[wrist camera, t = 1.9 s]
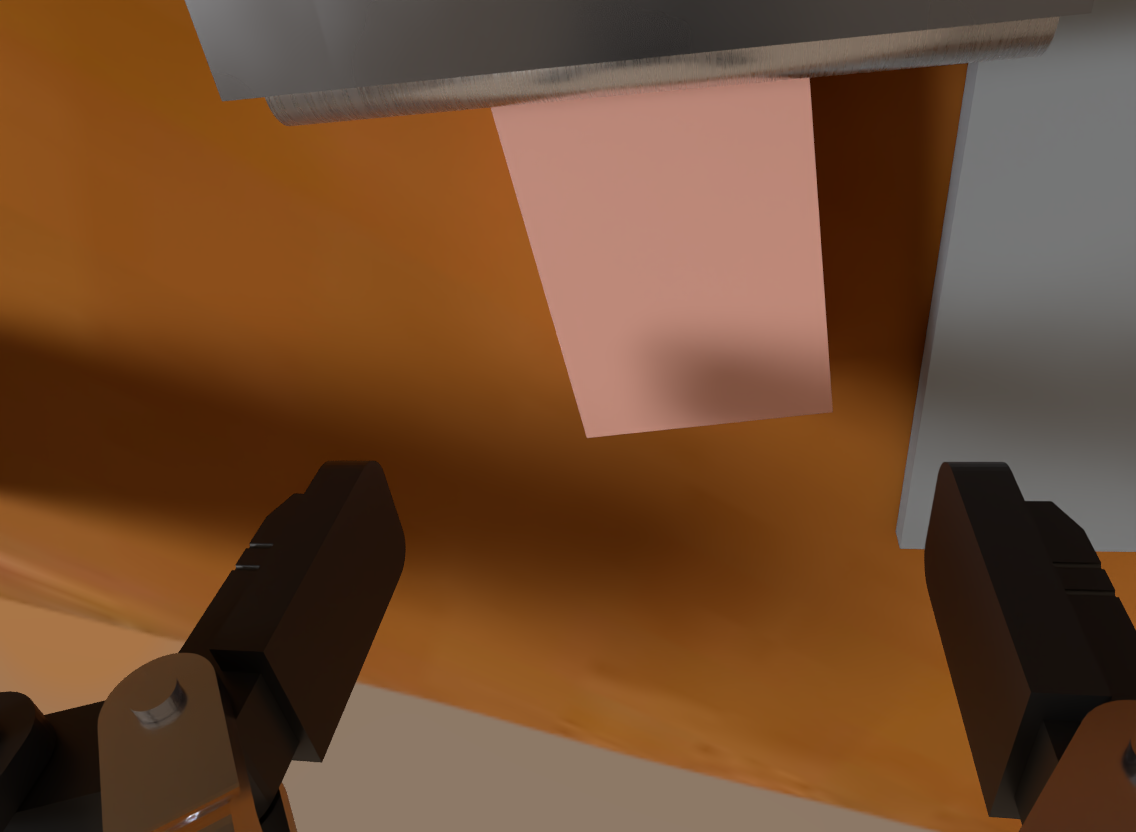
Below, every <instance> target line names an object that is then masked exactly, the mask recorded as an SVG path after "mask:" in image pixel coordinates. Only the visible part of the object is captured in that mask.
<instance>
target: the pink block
mask: <svg viewBox="0 0 1136 832" xmlns="http://www.w3.org/2000/svg"><path fill="white" fill-rule="evenodd" d="M491 110H492V113H493V117H494V120H495V124H496V127H497V131H498V134H499V137H500V141H501V144H502V148H503V151H504V155H505V158H506V161H507V165H508V168H509V172H510V175H511V179H512V182H513V186H514V189H515V192H516V196H517V199H518V203H519V206H520V210H521V213H522V216H523V220H524V223H525V227H526V230H527V234H528V237H529V240H530V244H531V247H532V251H533V254H534V258H535V261H536V265H537V268H538V271H539V275H540V278H541V282H542V285H543V289H544V292H545V295H546V299H547V302H548V306H549V309H550V313H551V316H552V319H553V323H554V326H555V330H556V333H557V337H558V340H559V343H560V347H561V350H562V354H563V357H564V361H565V364H566V368H567V371H568V374H569V378H570V381H571V385H572V388H573V392H574V395H575V398H576V402H577V405H578V409H579V412H580V416H581V419H582V422H583V426H584V429H585V433H586V436H587V438H591V437H600V436H610V435H619V434H629V433H638V432H648V431H657V430H667V429H676V428H686V427H695V426H705V425H714V424H724V423H733V422H743V421H752V420H762V419H771V418H781V417H790V416H800V415H809V414H819V413H828V412H833V409H832V395H831V380H830V366H829V351H828V337H827V322H826V308H825V293H824V279H823V265H822V250H821V236H820V221H819V207H818V192H817V178H816V163H815V149H814V134H813V120H812V106H811V91H810V78H801V79H790V80H780V81H769V82H758V83H748V84H737V85H726V86H715V87H705V88H694V89H683V90H672V91H662V92H651V93H640V94H629V95H619V96H608V97H597V98H586V99H576V100H565V101H554V102H543V103H533V104H522V105H511V106H500V107H491Z"/></svg>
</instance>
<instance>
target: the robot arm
mask: <svg viewBox="0 0 1136 832" xmlns="http://www.w3.org/2000/svg"><path fill="white" fill-rule="evenodd" d="M404 561H405V537H404V533H403V529H402V526H401V523H400V520H399V517H398V514H397V511H396V508H395V505H394V502H393V499H392V496H391V493H390V490H389V487H388V484H387V481H386V478H385V475H384V472H383V469H382V467H381V466H380V464H379V463H378V462H376V461H327V462H325V463H324V464H323V465H322V466H321V468H320V469H319V471H318V472H317V474H316V475H315V477H314V479H313V480H312V482H311V484H310V485H309V487H308V488H307V490H306V492H305V493H304V494H293V495H292V496H291V497H289V498H288V499H287V500H286V501H285V502H284V503H282V504H281V505H280V506H279V507H278V508H276V509H275V510H274V511H273V512H272V513H271V514H269V515H268V516H267V517H266V519H265V520H264V522H263V523H262V525H261V526H260V528H259V529H258V531H257V532H256V534H255V536H254V537H253V539H252V540H251V542H250V548H246V549H245V551H244V552H243V554H242V556H241V557H240V559H239V560H238V562H237V563H236V569H235V570H232V571H231V573H230V574H229V576H228V577H227V579H226V580H225V582H224V583H223V585H222V586H221V588H220V590H219V591H218V593H217V594H216V596H215V597H214V599H213V600H212V602H211V603H210V605H209V607H208V608H207V610H206V611H205V613H204V614H203V616H202V617H201V619H200V620H199V622H198V623H197V625H196V627H195V628H194V630H193V631H192V633H191V634H190V636H189V637H188V639H187V640H186V642H185V644H184V645H183V647H182V648H181V650H180V651H179V652H178V653H176V654H170V655H166V656H162V657H160V658H157V659H155V660H152V661H150V662H149V663H147V664H144V665H143V666H141V667H139V668H138V669H136V670H135V671H133V672H132V673H131V674H129V675H128V676H127V677H126V678H124V680H122V681H121V682H120V683H119V684H118V685H117V686H116V687H115V688H114V690H113V691H112V692H111V693H110V695H109V696H108V698H107V699H106V700H105V701H101V702H97V703H93V704H89V705H85V706H81V707H77V708H72V709H68V710H64V711H59V712H55V713H51V714H47V715H43V713H42V712H41V711H40V710H39V709H38V707H37V706H36V705H35V704H34V703H33V701H32V700H31V699H30V698H29V697H27V696H26V695H24V694H22V693H18V692H0V832H297V829H296V825H295V822H294V818H293V814H292V810H291V807H290V803H289V799H288V795H287V792H286V789H285V787H284V785H283V783H282V780H283V778H284V775H285V773H286V771H287V769H288V767H289V764H290V762H291V760H297V761H310V762H322V761H323V759H324V756H325V754H326V752H327V749H328V747H329V744H330V742H331V740H332V737H333V735H334V733H335V730H336V728H337V725H338V723H339V721H340V718H341V716H342V713H343V711H344V709H345V706H346V704H347V701H348V699H349V697H350V695H351V692H352V690H353V687H354V685H355V683H356V680H357V678H358V676H359V673H360V671H361V668H362V666H363V664H364V661H365V659H366V657H367V654H368V652H369V649H370V647H371V645H372V642H373V640H374V638H375V635H376V633H377V630H378V628H379V626H380V623H381V621H382V619H383V616H384V614H385V611H386V609H387V607H388V604H389V602H390V600H391V597H392V595H393V592H394V590H395V588H396V585H397V583H398V581H399V578H400V576H401V573H402V570H403V566H404ZM924 564H925V577H926V584H927V589H928V593H929V596H930V600H931V604H932V608H933V611H934V615H935V619H936V622H937V626H938V630H939V633H940V637H941V641H942V645H943V648H944V652H945V656H946V659H947V663H948V667H949V670H950V674H951V678H952V682H953V685H954V689H955V693H956V696H957V700H958V704H959V707H960V711H961V715H962V719H963V722H964V726H965V730H966V733H967V737H968V741H969V745H970V748H971V752H972V756H973V759H974V763H975V767H976V770H977V774H978V778H979V782H980V785H981V789H982V793H983V796H984V800H985V804H986V807H987V811H988V815H989V817H999V818H1012V819H1021V822H1022V827H1021V829H1020V830H1019V832H1136V630H1135V628H1134V626H1133V624H1132V622H1131V620H1130V618H1129V616H1128V614H1127V612H1126V610H1125V608H1124V607H1123V605H1122V603H1121V601H1120V599H1119V597H1116V596H1115V589H1114V587H1113V585H1112V583H1111V581H1110V579H1109V577H1108V575H1107V573H1106V571H1105V569H1101V562H1100V560H1099V558H1098V556H1097V554H1096V552H1095V550H1094V548H1093V546H1092V544H1091V542H1090V540H1089V538H1088V536H1087V534H1086V532H1085V530H1084V529H1083V528H1082V527H1080V526H1079V525H1078V524H1077V523H1076V522H1075V521H1074V520H1073V519H1071V518H1070V517H1069V516H1068V515H1067V514H1066V513H1065V512H1063V511H1062V510H1061V509H1060V508H1059V507H1058V506H1057V505H1055V504H1054V503H1053V502H1052V501H1025V500H1024V498H1023V495H1022V493H1021V491H1020V489H1019V487H1018V484H1017V482H1016V480H1015V478H1014V475H1013V473H1012V471H1011V469H1010V467H1009V466H1008V464H1007V463H1005V462H943V463H942V464H941V466H940V469H939V472H938V477H937V482H936V488H935V493H934V499H933V504H932V509H931V515H930V520H929V526H928V531H927V537H926V543H925V554H924Z"/></svg>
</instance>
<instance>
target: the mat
mask: <svg viewBox="0 0 1136 832" xmlns="http://www.w3.org/2000/svg"><path fill="white" fill-rule="evenodd" d="M943 462H1005V463H1007V464H1008V466H1009V467H1010V469H1011V471H1012V473H1013V475H1014V478H1015V480H1016V482H1017V484H1018V487H1019V489H1020V491H1021V493H1022V495H1023V498H1024V500H1025V501H1052V502H1053V503H1054V504H1055V505H1057V506H1058V507H1059V508H1060V509H1061V510H1062V511H1063V512H1065V513H1066V514H1067V515H1068V516H1069V517H1070V518H1071V519H1073V520H1074V521H1075V522H1076V523H1077V524H1078V525H1079V526H1080V527H1082V528H1083V529H1084V530H1085V532H1086V534H1087V536H1088V538H1089V540H1090V542H1091V544H1092V546H1093V548H1094V550H1095V551H1117V552H1136V0H1094V3H1093V8H1092V12H1091V13H1089V14H1079V15H1069V16H1060V17H1059V22H1058V25H1057V29H1056V31H1055V34H1054V37H1053V39H1052V41H1051V43H1050V45H1049V47H1048V49H1047V50H1046V51H1045V53H1043V54H1042V55H1041V56H1038V57H1027V58H1016V59H1005V60H995V61H984V62H973V63H968V68H967V75H966V81H965V88H964V94H963V101H962V107H961V114H960V120H959V127H958V133H957V139H956V146H955V152H954V159H953V165H952V172H951V178H950V185H949V191H948V198H947V204H946V211H945V217H944V224H943V230H942V236H941V243H940V249H939V256H938V262H937V269H936V275H935V282H934V288H933V295H932V301H931V308H930V314H929V321H928V327H927V333H926V340H925V346H924V353H923V359H922V366H921V372H920V379H919V385H918V392H917V398H916V405H915V411H914V417H913V424H912V430H911V437H910V443H909V450H908V456H907V463H906V469H905V476H904V482H903V489H902V495H901V502H900V508H899V514H898V521H897V527H896V534H897V538H898V542H899V546H900V549H925V543H926V537H927V531H928V526H929V520H930V515H931V509H932V504H933V499H934V493H935V488H936V482H937V477H938V472H939V469H940V466H941V464H942V463H943Z"/></svg>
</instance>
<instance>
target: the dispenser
mask: <svg viewBox="0 0 1136 832" xmlns="http://www.w3.org/2000/svg"><path fill="white" fill-rule="evenodd" d="M185 2H186V5H187V7H188V10H189V13H190V15H191V18H192V21H193V24H194V26H195V29H196V32H197V34H198V37H199V40H200V43H201V45H202V48H203V51H204V53H205V56H206V59H207V62H208V64H209V67H210V70H211V72H212V75H213V78H214V81H215V83H216V86H217V89H218V91H219V94H220V97H221V99H222V101H229V100H239V99H249V98H259V97H265V99H266V101H267V103H268V106H269V108H270V109H271V111H272V113H273V114H274V116H275V117H276V118H277V119H278V120H279V121H280V122H281V123H282V124H284V125H286V126H296V125H307V124H318V123H328V122H339V121H350V120H361V119H371V118H382V117H393V116H404V115H414V114H425V113H436V112H447V111H457V110H468V109H479V108H490V107H500V106H511V105H522V104H533V103H543V102H554V101H565V100H576V99H586V98H597V97H608V96H619V95H629V94H640V93H651V92H662V91H672V90H683V89H694V88H705V87H715V86H726V85H737V84H748V83H758V82H769V81H780V80H790V79H801V78H812V77H823V76H833V75H844V74H855V73H866V72H876V71H887V70H898V69H909V68H919V67H930V66H941V65H952V64H962V63H973V62H984V61H995V60H1005V59H1016V58H1027V57H1038V56H1041V55H1042V54H1043V53H1045V51H1046V50H1047V49H1048V47H1049V45H1050V43H1051V41H1052V39H1053V37H1054V34H1055V31H1056V29H1057V25H1058V22H1059V17H1060V16H1069V15H1079V14H1089V13H1091V12H1092V8H1093V3H1094V0H185Z"/></svg>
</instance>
